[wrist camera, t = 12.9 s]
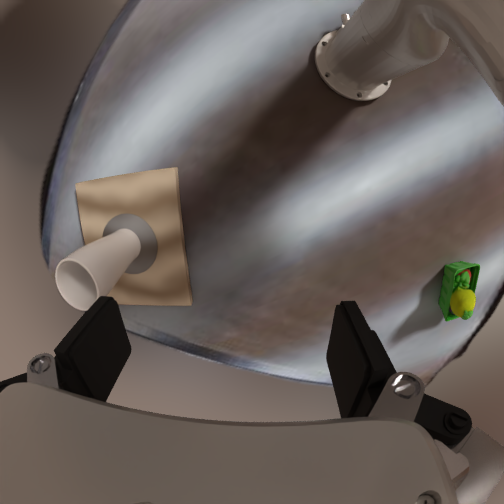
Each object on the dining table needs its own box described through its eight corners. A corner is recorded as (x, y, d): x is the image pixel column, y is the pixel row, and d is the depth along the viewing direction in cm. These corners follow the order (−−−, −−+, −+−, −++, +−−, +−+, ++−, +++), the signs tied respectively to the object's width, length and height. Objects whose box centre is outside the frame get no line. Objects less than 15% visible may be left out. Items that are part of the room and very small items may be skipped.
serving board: (80, 182, 38) (74, 183, 36) (177, 167, 37) (174, 167, 36) (103, 299, 45) (99, 304, 43) (193, 301, 45) (190, 306, 43)
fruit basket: (457, 302, 46) (486, 329, 35) (428, 311, 46) (456, 342, 35) (466, 254, 42) (500, 276, 31) (436, 260, 42) (471, 286, 32)
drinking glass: (133, 215, 38) (77, 248, 24) (153, 253, 40) (110, 302, 26) (102, 234, 39) (46, 270, 25) (122, 269, 41) (75, 318, 27)
